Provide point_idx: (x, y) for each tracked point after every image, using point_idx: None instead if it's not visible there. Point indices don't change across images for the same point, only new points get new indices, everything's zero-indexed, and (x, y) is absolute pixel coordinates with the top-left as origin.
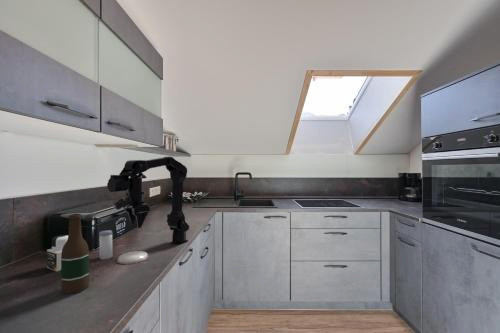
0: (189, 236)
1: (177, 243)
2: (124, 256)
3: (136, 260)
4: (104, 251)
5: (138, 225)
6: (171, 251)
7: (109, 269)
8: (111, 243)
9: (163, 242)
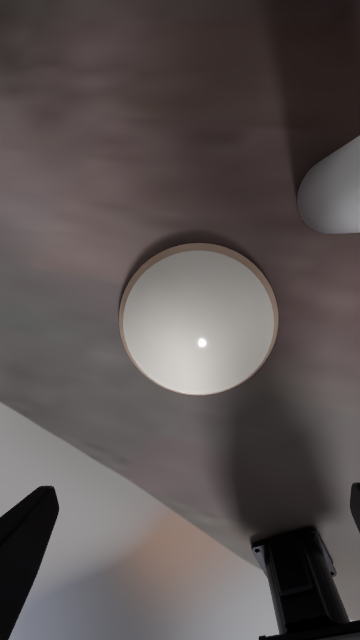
0: None
1: (265, 542)
2: (215, 286)
3: (125, 327)
4: (322, 170)
5: (3, 521)
6: (181, 485)
7: (106, 188)
8: (357, 220)
9: None
